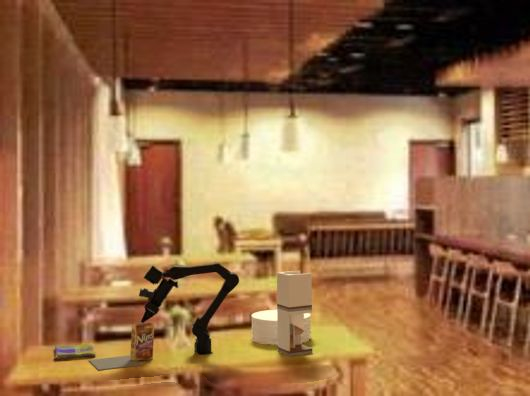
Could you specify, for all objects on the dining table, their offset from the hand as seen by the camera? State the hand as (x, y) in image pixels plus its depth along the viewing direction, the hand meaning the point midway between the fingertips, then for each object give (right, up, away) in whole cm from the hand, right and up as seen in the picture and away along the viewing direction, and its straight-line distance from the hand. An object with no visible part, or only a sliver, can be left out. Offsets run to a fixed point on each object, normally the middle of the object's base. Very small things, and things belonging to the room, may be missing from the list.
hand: (142, 320), depth 346 cm
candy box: (+1, -15, -9) cm, 18 cm away
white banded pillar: (+67, -14, +1) cm, 68 cm away
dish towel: (-31, -16, +5) cm, 35 cm away
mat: (-9, -16, -14) cm, 23 cm away
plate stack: (+61, -14, +30) cm, 69 cm away
